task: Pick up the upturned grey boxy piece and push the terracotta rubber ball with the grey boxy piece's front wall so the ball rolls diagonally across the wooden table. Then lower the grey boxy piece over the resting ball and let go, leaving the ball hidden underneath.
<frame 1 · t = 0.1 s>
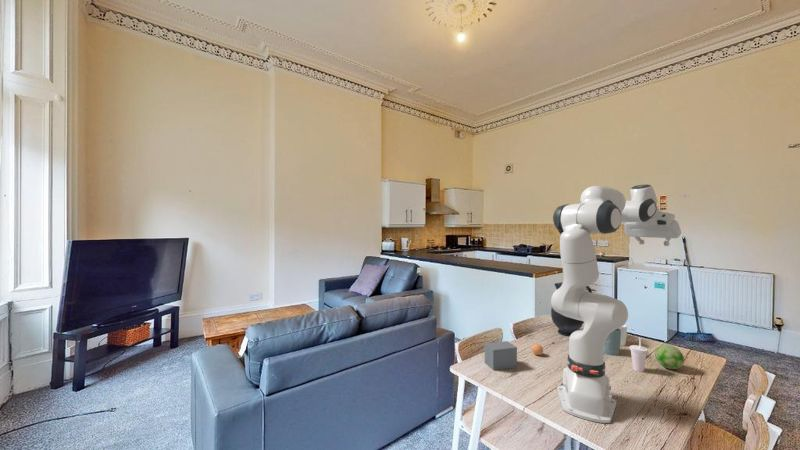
hand: (654, 244, 143), 54 cm above the table, tool tilted 30°, fingers open, 8 cm apart
grey boxy piece: (500, 364, 141), on the table
pitcher: (570, 334, 178), on the table
drinking glass 2: (608, 351, 155), on the table
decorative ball: (669, 368, 138), on the table
smoothie: (638, 370, 136), on the table
ball: (537, 349, 151), on the table
white cup: (617, 343, 165), on the table
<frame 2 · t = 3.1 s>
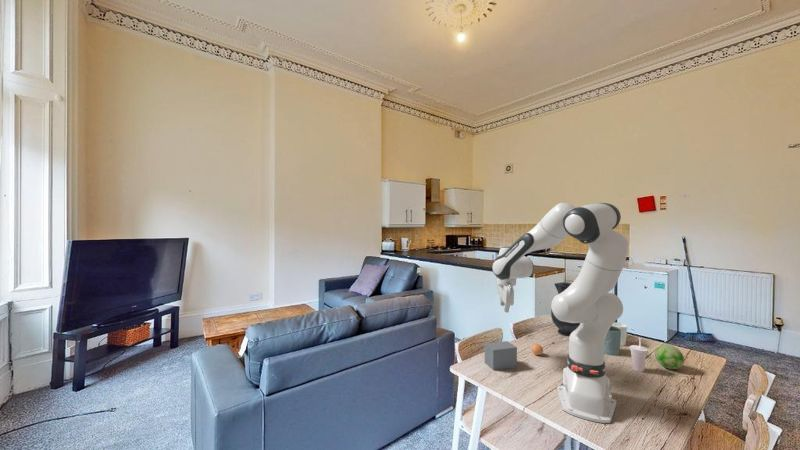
hand: (504, 308, 149), 23 cm above the table, tool pointing down, fingers open, 8 cm apart
nothing on the table moved.
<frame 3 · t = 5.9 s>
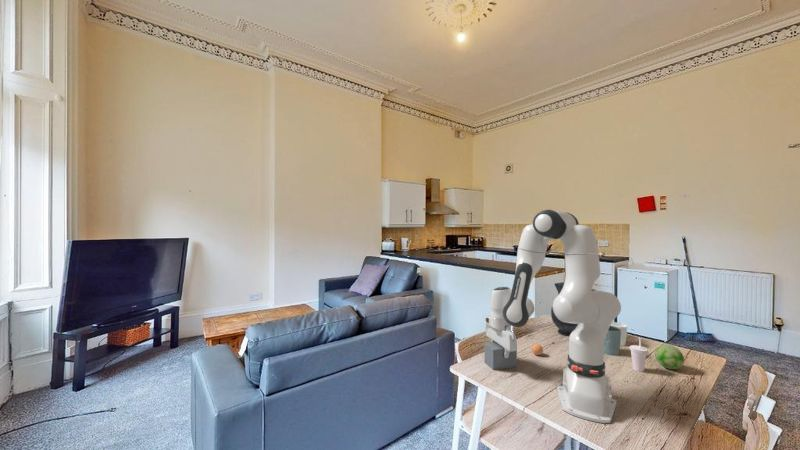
hand: (500, 353, 141), 5 cm above the table, tool pointing down, fingers closed on grey boxy piece, 7 cm apart
grey boxy piece: (500, 364, 141), on the table, touching gripper
everything else where it was.
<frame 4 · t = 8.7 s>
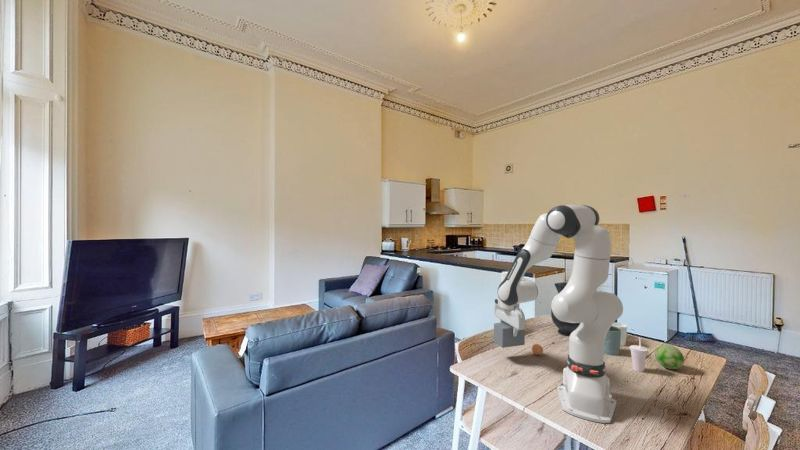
hand: (508, 332, 148), 12 cm above the table, tool pointing down, fingers closed on grey boxy piece, 7 cm apart
grey boxy piece: (509, 343, 148), point 7 cm above the table, touching gripper
everything else where it was.
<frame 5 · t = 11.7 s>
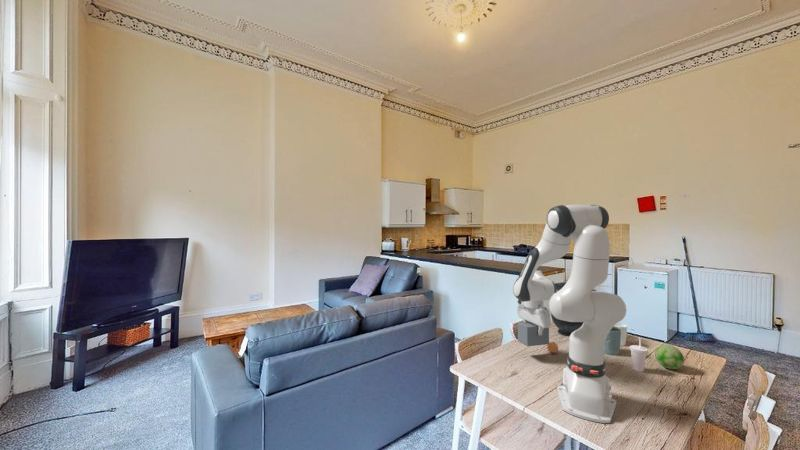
hand: (533, 331, 150), 12 cm above the table, tool pointing down, fingers closed on grey boxy piece, 7 cm apart
grey boxy piece: (533, 342, 149), point 7 cm above the table, touching gripper
ball: (552, 347, 154), on the table
everything else where it was.
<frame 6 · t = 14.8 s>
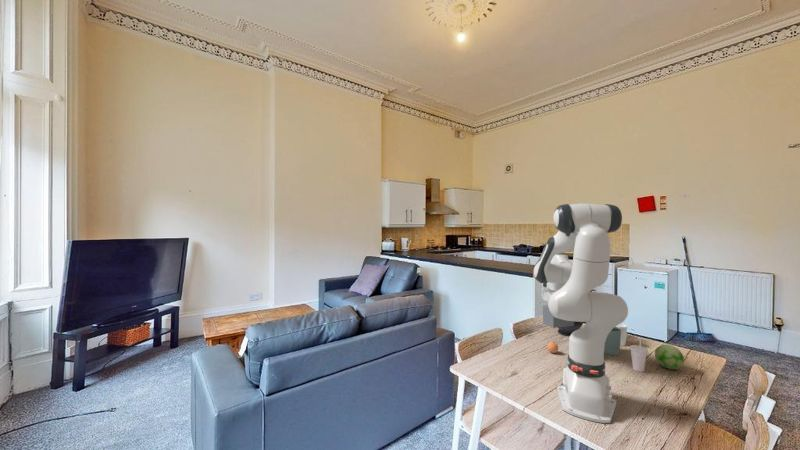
hand: (558, 314, 154), 19 cm above the table, tool pointing down, fingers closed on grey boxy piece, 7 cm apart
grey boxy piece: (558, 324, 154), point 14 cm above the table, touching gripper
everything else where it was.
when the fingers open (6 cm above the table, at t = 17.8 s): grey boxy piece stays where it is, on the table.
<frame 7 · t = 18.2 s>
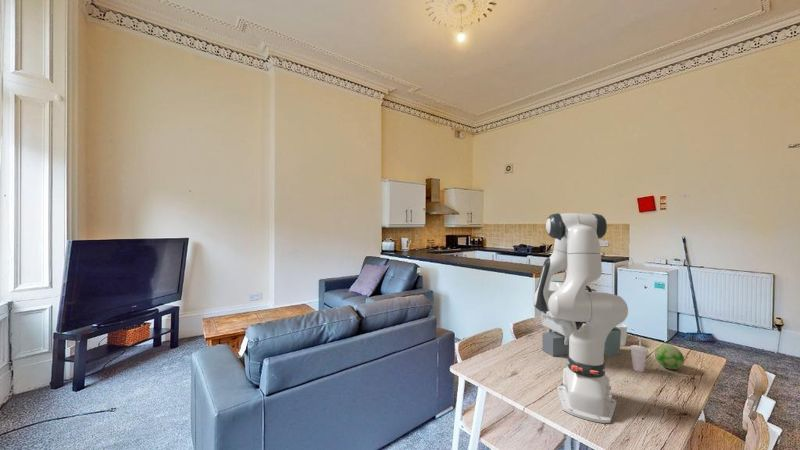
hand: (558, 340, 154), 6 cm above the table, tool pointing down, fingers open, 8 cm apart
grey boxy piece: (557, 352, 154), on the table
everything else where it was.
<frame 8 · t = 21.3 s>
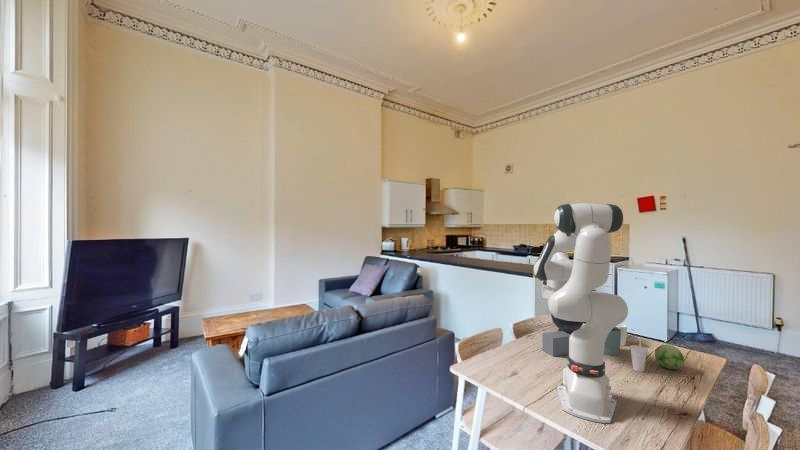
hand: (558, 311, 154), 20 cm above the table, tool pointing down, fingers open, 8 cm apart
nothing on the table moved.
at the end: ball 2.9 cm from the grey boxy piece (horizontally); grey boxy piece on the table; ball moved 8.8 cm from its start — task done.
